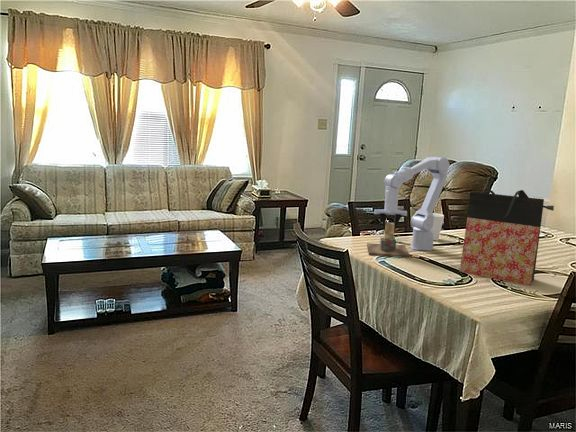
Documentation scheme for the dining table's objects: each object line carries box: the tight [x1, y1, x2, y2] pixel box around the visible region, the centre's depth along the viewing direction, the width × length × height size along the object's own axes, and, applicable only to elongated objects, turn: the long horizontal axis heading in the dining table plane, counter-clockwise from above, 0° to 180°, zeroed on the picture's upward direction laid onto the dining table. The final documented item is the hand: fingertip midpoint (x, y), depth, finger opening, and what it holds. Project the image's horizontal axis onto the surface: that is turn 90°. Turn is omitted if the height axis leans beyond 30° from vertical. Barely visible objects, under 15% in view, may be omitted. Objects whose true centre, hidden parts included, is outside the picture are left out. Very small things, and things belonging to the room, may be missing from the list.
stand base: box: [366, 237, 411, 258], centre depth 215 cm, size 18×18×6 cm
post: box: [382, 221, 395, 241], centre depth 213 cm, size 4×4×8 cm
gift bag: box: [459, 188, 555, 287], centre depth 179 cm, size 29×14×35 cm, turn 56°
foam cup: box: [430, 212, 445, 241], centre depth 241 cm, size 10×9×13 cm
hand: (389, 230), depth 213 cm, fingers closed on post, 4 cm apart
